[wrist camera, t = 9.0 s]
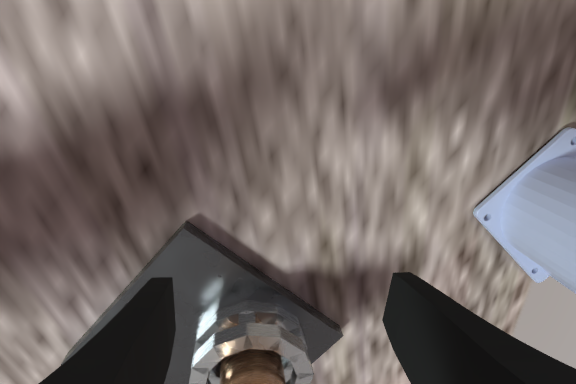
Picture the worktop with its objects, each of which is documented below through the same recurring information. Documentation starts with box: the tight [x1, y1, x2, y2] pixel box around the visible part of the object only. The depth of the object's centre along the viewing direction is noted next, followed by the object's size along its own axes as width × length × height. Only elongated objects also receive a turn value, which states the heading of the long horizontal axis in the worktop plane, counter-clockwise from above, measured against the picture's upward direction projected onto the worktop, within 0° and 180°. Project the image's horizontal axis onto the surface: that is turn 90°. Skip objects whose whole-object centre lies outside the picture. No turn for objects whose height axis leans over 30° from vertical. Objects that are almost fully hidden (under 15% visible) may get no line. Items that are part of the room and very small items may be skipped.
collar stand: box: [61, 221, 343, 384], centre depth 22 cm, size 14×13×4 cm
